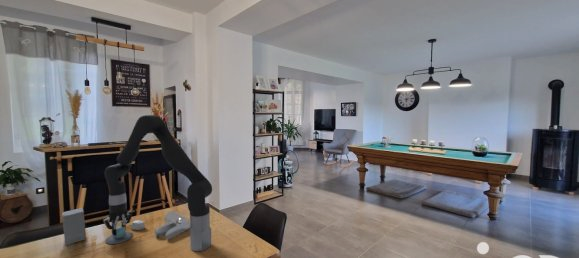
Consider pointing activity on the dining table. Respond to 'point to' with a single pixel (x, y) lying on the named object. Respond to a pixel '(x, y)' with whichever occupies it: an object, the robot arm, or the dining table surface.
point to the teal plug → (120, 232)
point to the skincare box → (74, 226)
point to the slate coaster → (118, 239)
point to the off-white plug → (138, 225)
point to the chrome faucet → (172, 225)
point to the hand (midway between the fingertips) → (119, 233)
